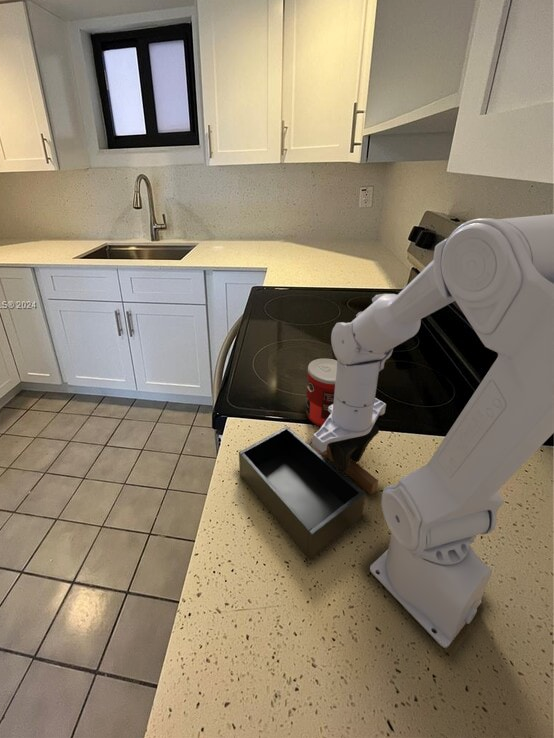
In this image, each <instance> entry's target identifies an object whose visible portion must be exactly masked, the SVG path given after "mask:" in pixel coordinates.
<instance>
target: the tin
mask: <svg viewBox="0 0 554 738" xmlns="http://www.w3.org/2000/svg"><path fill="white" fill-rule="evenodd" d="M238 463H239V464H238V465H239V476H240V477H241V478H242V480H243V481H244V482H245V483H246V484H247V485H248V487H249V488H250V489H251V490H252V492H253V493H254V494H255V495H256V497H257V498H258V499H259V500H260V501H261V503H263V505H264V506H265V508H266V509H267V510H268V511H269V512H270V514H271V515H272V516H273V517H274V519H276V521H277V522H278V523H279V524H280V526H281V527H282V528H283V529H284V531H285V532H286V533H287V534H288V535H289V536H290V538H292V540H293V541H294V543H295V544H296V545H297V547H298V548H300V550H301V551H302V552H303V554H305V556H306V557H307V559H309V561H311V560H312V559H314V558H315V557H316V556H318V554H320V553H321V552H322V551H323V550H325V549H326V548H327V547H328V546H330V545H331V544H332V543H333V542H334V541H336V540H337V539H338V538H340V536H342V535H343V534H344V533H345V532H347V531H348V530H349V529H351V527H353V526H354V525H355V524H356V523H358V522H359V521H360V520H362V517H363V512H364V506H365V505H364V504H365V500H366V493H365V492H364V491H363V490H362V489H361V488H360V487H358V486H357V485H356V484H355V483H354V482H353V481H352V480H351V479H349V478H348V477H347V476H346V475H344V473H343V472H342V471H340V470H339V469H338V468H337V467H336V466H335V465H333V464H332V463H331V462H329V461H328V460H327V459H325V458H323V457H322V456H321V455H320V454H319V453H318V452H317V451H315V450H314V449H313V448H312V447H311V444H309V443H307V442H306V441H305V440H304V439H303V438H302V437H300V436H299V435H298V434H297V433H296V432H295V431H293V430H292V429H291V428H290V427H289V426H287V425H286V426H284V427H283V428H281V429H279V430H277V431H275V432H274V433H271V434H269V435H268V436H266V437H263V438H262V439H261V440H259V441H257V442H255V443H253V444H251V445H249V446H248V447H246V448H244V449H241V450H240V451H239V452H238Z"/></svg>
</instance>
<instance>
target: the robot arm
mask: <svg viewBox="0 0 554 738" xmlns="http://www.w3.org/2000/svg"><path fill="white" fill-rule="evenodd" d="M371 301H372V303H371V304H370V305H369V306H368V307H367V308H365V309H364V310H363V311H359V312H358V313H357V314H356V315H355V316H356V317H354V319H352V321H351V322H342V321H340V322H336V323H335V325H334V326H333V328H332V330H331V335H330V341H331V343H330V344H331V348H332V351H333V354H334V357H335V359H336V360H337V371H336V381H335V392H334V403H333V404H332V405H331V406H329V407H328V411H329V412H330V413H331V414H330V415H329V417H328V418H327V420H326V421H325V423H324V424H323V425H322V427H320V428H319V429H318V430H317V431H316V432H315V433H313V434H312V441H313V445H314V446H315V447H316V448H317V449H318V450H320V451H321V452H324V451H326V450H327V445H328V446H329V449H330V452H331V456H332V460H333V462H332V463H333V464H332V465H333V466H334V467H335V468H336V469H337V470H339V471H340V472H341V473H345V472H344V471H346V469H347V467H348V464H349V460H350V458H351V459H352V460H353V461H355V462H356V463H357V464H358V462H360V460H361V459H362V456H363V455H364V453H365V451H366V449H367V447H368V445H369V444H370V442H372V440H373V439H374V438H375V437H376V436H377V435H378V434H379V432H380V428H379V426H377V424H375V423H376V421H377V419H378V418H379V416H383V415H384V414H385V413H386V408H387V403H385V402H383V401H382V400H380V399H378V398H377V397H376V394H377V387H378V382H379V381H378V380H379V373H380V372H381V371H382V370H384V369H385V363H386V361H387V360H388V359H389V358H390V357H391V356H392V354H393V351H394V348H396V347H397V346H399V345H402V344H403V343H404V342H406V341H408V340H410V339H411V338H413V337H415V336H416V335H417V334H418V333H419V330H420V328H421V322H422V319H423V318H426V317H428V316H429V315H431V314H433V313H436V312H437V311H439V310H441V309H443V308H444V307H446V306H448V305H450V304H452V303H454V302H455V303H456V304H457V306H458V307H459V309H460V310H461V312H462V314H463V315H464V316H465V318H466V320H467V321H468V323H469V324H470V326H471V327H472V329H473V330H474V332H475V333H476V335H477V337H478V338H479V340H480V341H481V343H482V344H483V345H484V347H485V348H487V349H489V350H491V351H492V352H496V353H497V357H496V359H495V361H493V363H492V365H491V366H490V368H489V370H488V371H487V373H486V375H485V376H484V377H483V379H482V380H481V381H480V383H479V385H478V386H477V388H476V389H475V391H474V392H473V394H472V395H471V397H470V398H469V400H468V402H467V403H466V404H465V406H464V408H463V409H462V411H461V412H460V414H459V415H458V417H457V418H456V419H455V421H454V423H453V424H452V426H451V427H450V429H449V430H448V431H447V433H446V435H445V436H444V438H443V439H442V441H441V442H440V444H439V446H438V447H437V449H436V450H435V452H434V453H433V455H432V456H431V457H430V459H429V461H428V462H427V463H426V464H425V465H423V466H421V467H420V468H417V469H416V470H414V471H412V472H410V473H409V474H406V475H405V476H403V477H401V478H400V479H399V480H398V482H397V483H396V484H391V485H387V486H385V487H384V489H383V490H382V494H381V495H382V496H381V510H382V514H383V518H384V521H385V523H386V525H387V528H388V530H389V532H390V533H391V535H390V540H389V545H388V549H386V550H385V551H384V552H383V553H382V554H381V555H380V556H379V557H377V559H376V560H375V561H373V563H372V564H370V566H369V571H370V573H371V574H372V575H373V576H374V577H375V578H376V579H377V580H378V582H379V583H380V584H381V585H382V586H383V587H384V588H385V589H386V590H387V591H388V592H389V593H390V594H391V595H392V596H393V597H394V599H396V600H397V601H398V602H399V603H400V604H401V605H402V607H403V608H404V609H405V610H406V611H407V612H408V613H409V614H410V615H411V616H412V617H413V618H414V620H416V621H417V622H418V624H419V625H421V627H422V628H423V629H424V630H425V631H426V632H427V633H428V634H429V636H430V637H432V638H433V639H434V640H435V641H436V643H438V645H439V646H441V648H443V649H448V648H449V646H450V645H451V644H452V643H453V641H454V640H455V638H456V637H457V636H458V635H459V633H460V632H461V630H462V629H463V628H464V626H465V625H466V624H467V625H469V624H470V623H471V622H472V621H473V619H474V618H475V616H476V614H477V612H478V608H479V606H480V605H481V603H482V600H483V599H482V598H483V596H484V593H485V591H486V588H487V586H488V584H489V581H490V579H491V576H492V572H493V571H492V570H493V569H492V568H490V566H489V565H488V564H486V562H484V561H483V560H482V558H481V557H479V555H478V554H477V553H476V551H475V550H474V549H473V548H472V546H471V544H473V543H475V541H476V538H477V536H478V535H488V534H491V533H492V532H493V531H494V530H495V529H496V526H497V514H498V511H499V510H500V508H501V507H502V505H504V503H505V502H504V499H503V497H502V496H501V494H500V492H499V491H500V489H501V488H502V487H503V486H504V485H505V484H506V483H507V482H508V481H509V480H510V479H511V478H512V477H513V475H514V474H515V473H516V472H517V471H519V469H520V468H522V467H523V465H524V464H526V462H527V461H528V460H529V459H530V458H531V457H532V456H533V455H534V454H536V451H538V450H539V449H540V448H541V447H542V446H543V445H544V443H545V442H547V441H548V439H549V438H550V437H552V435H553V434H554V213H552V214H551V213H550V214H540V215H531V216H530V215H528V216H520V217H519V216H518V217H517V216H516V217H508V218H507V217H506V218H499V219H498V218H492V217H490V218H489V217H488V218H487V217H486V218H484V217H483V218H482V217H479V218H474V219H471V220H467V221H465V222H463V223H462V224H460V225H459V226H457V227H456V228H455V229H454V230H453V231H452V233H451V234H450V235H449V236H448V237H447V238H445V239H444V240H442V241H439V243H437V244H436V245H435V246H434V252H433V259H432V260H431V261H430V262H429V263H428V265H426V266H425V267H424V268H423V269H422V270H421V272H419V273H418V274H417V275H416V276H415V277H414V278H413V279H412V280H411V281H410V282H409V283H408V284H407V285H406V286H404V288H403V289H402V290H401V291H399V293H398V294H395V293H381V294H376V295H374V297H372V298H371ZM433 631H434V632H433Z"/></svg>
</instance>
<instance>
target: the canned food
mask: <svg viewBox="0 0 554 738" xmlns="http://www.w3.org/2000/svg"><path fill="white" fill-rule="evenodd" d="M336 371H337V359H332V358H317V359H314V360H312V361H310V362H309V364H308V366H307V375H306V394H305V414H306V416H307V419H308V420H309V421H310V422H311V423H312V424H314V425H316V426H318V427H320V428H321V427H322V425H323V424H324V423H325V421H326V420H327V418H328V417H329V415H330V414H331V413H330V412H329V411H328V407H329V406H331V405H332V404H333V403H334V392H335V381H336Z"/></svg>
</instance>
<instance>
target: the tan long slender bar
mask: <svg viewBox="0 0 554 738" xmlns="http://www.w3.org/2000/svg"><path fill="white" fill-rule="evenodd" d="M310 446H311V447H312V448H313V449H314V450H315V451H317V452H318V453H319V454H320V455H321V456H322V457H323V458H325V459H326V460H327V459H328V460H329V461H331V463H333V460H332V456H331V452H330V449H329V446H328V445H327V450H326V451H324V452H321V451H320V450H318V449H317V448H316V447H315V446H314V445H313V440H312V442H311V444H310ZM343 473H345V474H346V475H347V476H348V477H349V478H350V479H351V480H353V481H354V482H355V483H356V484H357V485H359V486H360V487H361V488H362V489H363V490H365V491H366V492H367V493H368V494H369V495H373V494H374V493H376V492H377V490H378V484H379V480H378V479H377V478H376V477H375V476H374V475H373V474H371V473H370V472H368V471H367V470H366V469H365V468H364V467H362V466H361V465H360V464H358V462H357V463H356V462H355V461H353V460H352V459H351V458H350V460H349V464H348V467H347V469H346V471H344V472H343Z"/></svg>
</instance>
